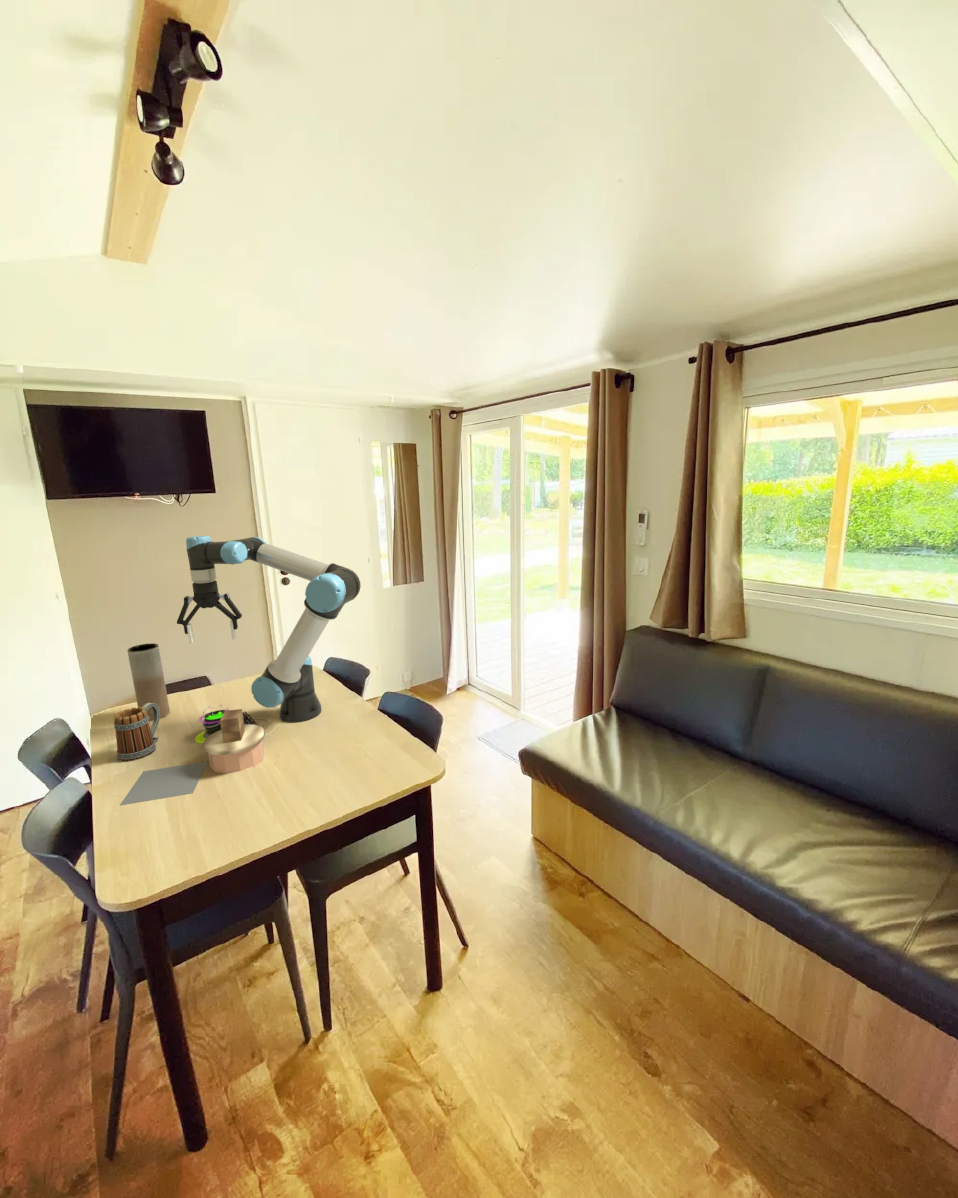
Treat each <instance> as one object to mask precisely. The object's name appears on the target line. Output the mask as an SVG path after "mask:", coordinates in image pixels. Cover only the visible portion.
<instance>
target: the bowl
mask: <svg viewBox="0 0 958 1198" xmlns="http://www.w3.org/2000/svg"><path fill="white" fill-rule="evenodd" d="M207 754H208V763H209V767H210V769H211V770H212V771H213V772H215V773H220V774H229V773H230V774H231V773H236V772H241V771H244V770H246V769H248V768H251V767H253V768H255V767H257V765H259V764H260V763H262V762H263V761H264V757H265V748H264V743H263V740H262V741H261V742H260V743H259V744H257V745H256V746H254V747H252V748H250V749H247V750H245V751H242V752H238V753H234V754H228V755H213V754H209V753H207Z"/></svg>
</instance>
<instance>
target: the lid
mask: <svg viewBox="0 0 958 1198" xmlns="http://www.w3.org/2000/svg"><path fill="white" fill-rule="evenodd" d="M220 724H221V730H219V731H217V732H215V733H213V734H212V735H210V736H209V737H208V738H207V739H206V740H205V741H204V743H203V747H204V751H205V752H206V753H207V754H208V753H209V754H213V755H228V754H234V753H238V752H242V751H245V750H247V749H250V748H252V747H254V746H256V745H257V744H259V743H260V742H261V741H263V740H264V738H265V730H264V728H263V727H261V725H257V724H248V723H247V724H245V723H244V713H243V708H237V709H228V711H225V712H224V714H223V716H222V717H221V719H220Z"/></svg>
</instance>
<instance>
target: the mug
mask: <svg viewBox="0 0 958 1198" xmlns="http://www.w3.org/2000/svg"><path fill="white" fill-rule="evenodd" d="M149 707H152V709H153V712H154V720H152V724H151V726H150V724H149V721H148V720H149V717H148V716H147V710H148V708H149ZM160 719H161V718H160V711H159V708H158V706H157V705H156V704H154V703H147V704H145V705H144V706H143V707H142V708H141V707H138V706H137V708H136V707H131V708H130V709H129V708H126V709H124V710H121V711H118V712H117V713H115V714H114V722H113V724H114V726H113V727H114V730H115V739H116V749H117V750H116V756H117V758H118V761H121V762H134V761H137V760H141V759H144V758H146V757H148V756H150V755H152V754H153V753H155V751H156V749H157V748H156V745H157V744H156V743H157V742H158V740H159V736H158V735H157V736H156V735H155V732H156V731H157V728H158V726H159V724H160Z"/></svg>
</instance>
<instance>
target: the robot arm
mask: <svg viewBox="0 0 958 1198" xmlns="http://www.w3.org/2000/svg"><path fill="white" fill-rule="evenodd" d="M185 541H186V542H185V543H186V544H185V545H186V553H187V554H186V555H187V558H188V564H189V571H190V572H189V573H190V578H191V582H192V583H191V584H192V590H193V591H192V592H193V596H190V595H185V596H184V598H183V605H182V607H181V610H180V612H179V615H178V617H177V620H176V624H177V625H182V626H183V630H184V634H185V635H188V642H189V644H193V643H194V642H195V639H194V633H193V626H192V623H190V621H191V620H192V619H193V617H194V616H195V615H196V614H197V612H198V611H199V610H200V609H212V608H216V609H218V610H219V611H221V612H222V614H224V615H225V616H226V617H227V618H229V619H230V621H229V625H230V626H229V627H230V633H231V640H235V639H236V638H237V635H236V630H237V629H238V628H239V626H238V625H239V624H238V620H239V619H240V620H241V618H242V616H243V615H242V613H241V612H240V610H239V609H238V608H237V606H236V604H234V602H233V600H232V599H231V597H230V593H228V592H225V593H222V594H220V593H219V587H218V581H217V580H216V579H217V574H216V566H215V565H238V564H243V563H244V562H245V561H248V560H249V561H252V562H256V563H258V564H262V565H264V566H267V567H270V568H272V569H276V570H278V571H281V572H284V573H287V574H290V575H292V576H295V577H299V578H300V579H304V580H307V581H309V583H308V584H307V586H306V587H305V588H306V589H305V592H304V594H305V595H304V596H305V599H304V601H303V605H304V608H305V609H304V610H303V611H302V612H303V613H302V614H301V616H300V617H299V619H298V621H297V622H296V625H295V626H294V628H293V630H292V631H291V633H290V635H289V637H288V638H287V640H286V642H285V644H284V646H283V648H282V649H281V651H280V652H279V654H278V656H277V657H276V659H273V660H271V661H270V662H269V663H268V665H267V666H266V668H265V669H264V671H263V673H262V674H261V676H258V677H257V678H255V680H253V682H252V684H251V688H250V689H251V690H250V691H251V694H252V696H253V698H254V700H255V701H256V702H257V703H258V704H259V705H260V706H262V707H265V708H268V709H272V708H276V707H278V706H280V708H279V711H278V712H279V718H280V720H281V721H283V722H287V723H299V722H304V721H308V720H312V719H314V718H316V717H317V716H320V714H321V713H322V704H321V702H320V700H319V697H318V695H317V693H316V692H315V682H314V680H315V679H314V672H313V664H312V663H313V662H312V659H311V657H310V654H311V652H312V651H313V649H314V647H315V645H316V643H318V641H319V639H320V637H321V636H322V634H323V632H324V631H325V629H326V627H327V625H328V624H329V622H330V621H332V620H333V621H334V620H335V619H337V617H338V616H339V613H341V611H342V609H343V607H344V606H345V604H347V603H349V602H351V601H353V600H355V598H357V596H358V595H359V593H360V591H361V580H360V577H359V576H358V574H357V573H356V572H355V571H354V570H352V569H350V568H347V567H345V566H342V565H340V564H337V563H329V564H327V563H325V562H321V561H318V560H315V559H313V558H310V557H307V556H304V555H300V554H298V553H295V552H293V551H289V550H286V549H284V548H280V547H277V546H274V545H271V544H269V543H267V542H266V541H265V540H264V539H263V538H261V537H258V536H255V537H254V536H252V537H246V538H241V539H234V540H227V541H226V540H225V541H213V540H212V539H211V536H209V535H193V536H189V537H187V538H186V540H185ZM220 600H223V601H225V603H226V604H227V606H228V608H230V610H231V611H232V612H233V613H232V612H231V611H230V610H229V609H228V608H227V607H226V606H224V605H223V604H222V602H220ZM192 601H193V602H194V603H195V604H196V605H194V607H193V609H192V610H191V611H190V613H189V614H188V615H187V617H186V618H185V616H186V614H187V611H188V608H189V605H190V604H191V603H192ZM184 619H185V620H184Z"/></svg>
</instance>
